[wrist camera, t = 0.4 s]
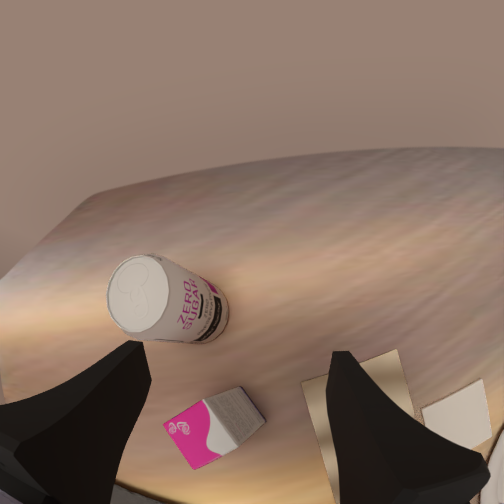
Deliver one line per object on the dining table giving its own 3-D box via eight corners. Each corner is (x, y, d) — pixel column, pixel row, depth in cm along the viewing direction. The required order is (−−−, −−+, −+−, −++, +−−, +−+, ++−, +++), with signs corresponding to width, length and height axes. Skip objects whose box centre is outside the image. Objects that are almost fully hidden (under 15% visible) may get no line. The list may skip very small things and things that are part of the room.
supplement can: (165, 297, 42) (94, 271, 28) (217, 272, 41) (161, 233, 27) (184, 352, 39) (112, 350, 25) (239, 329, 38) (187, 318, 24)
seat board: (425, 472, 27) (433, 483, 23) (336, 502, 28) (335, 516, 25) (395, 348, 33) (403, 349, 29) (300, 382, 34) (297, 386, 31)
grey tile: (490, 435, 25) (492, 436, 25) (432, 466, 27) (433, 467, 26) (480, 378, 28) (482, 378, 28) (420, 408, 30) (421, 409, 29)
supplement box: (240, 383, 36) (204, 397, 26) (267, 421, 34) (242, 449, 23) (205, 406, 36) (160, 424, 26) (230, 443, 34) (194, 473, 23)
